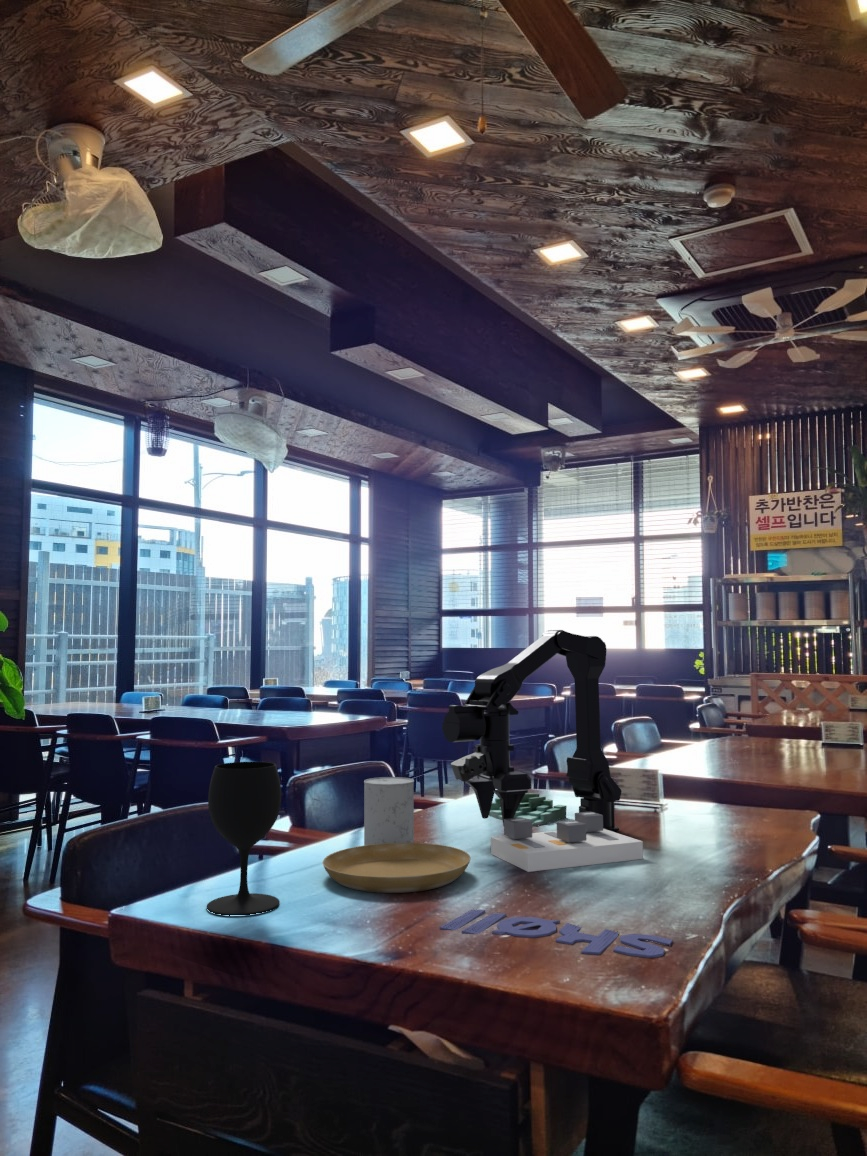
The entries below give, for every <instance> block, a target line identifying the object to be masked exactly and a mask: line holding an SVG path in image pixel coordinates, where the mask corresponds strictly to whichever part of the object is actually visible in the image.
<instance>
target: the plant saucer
mask: <svg viewBox="0 0 867 1156" xmlns="http://www.w3.org/2000/svg"><path fill="white" fill-rule="evenodd" d="M471 858H472V857H471V855H470V854H469V853H468V852H466V851H465V850H463V849H460V848H457V847H453V846H448V845H444V844H443V845H442V844H436V843H426V842H425V843H424V842H414V843H384V844H373V845H365V846H364V845H359V846H353V847H349V848H344V849H341V850H338V851H336V852H333V853H331V854H328V855H327V856H326V857H324V859H323V860H322V865H323V869H325V871H326V873H327V874H328V875H329V877H330V878H332V879H333V880H334V881H335V882H336V883H338V884H339V885H341V886H344V887H345V888H348V889H352V890H356V891H360V892H369V893H378V894H379V893H383V894H384V893H385V894H398V893H399V894H401V893H415V892H417V893H418V892H423V891H429V890H433V889H438V888H441V887H444V886H447V885H449V884H451V883H453V882H454V881H455V880H457V879H458V878H460V876H461V875H462V874H463V873H464V872H465V871H466V870H467V868H468V866H469V864H470V861H471Z"/></svg>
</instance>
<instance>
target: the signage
mask: <svg viewBox="0 0 867 1156" xmlns="http://www.w3.org/2000/svg"><path fill="white" fill-rule="evenodd" d="M485 913H486V909H477V908H475V909H471V910H469V911H467V912H465V913H463V914H462V915H460V916H458V917H455V918H454V919H452V920H450V921H447V922H446V923H445V924H443V925H441V926H439V930H443V931H444V930H445V931H456V930H458V929H461V928H462V927H463V926H465V925H466V924H469V923H470V922H472V921H473V920H475V919H476V918H478V917H480V916H482V915H483V914H485ZM504 917H507V913H506V912H504V913H503V912H502V913H501V912H499V913H498V911H497V912H496V913H495V912H492V913H490V914H489V915H487V916H485V917H484V918H482V919H480V920H478V921H477V922H475V923H473V924H471V925H469V926H468V927H466V928H464V929H462V930H461V933H462V934H469V935H471V934H473V935H479V934H480V933H483V932H484V931H485V930H486V929H488V928H490V927H492V926H493V925H494V924H496V927H497V929H495V930H492V931H491V933H492V934H494V935H500V936H502V935H509V936H512V937H518V938H519V937H520V938H532V939H533V938H540V937H546V936H550V935H552V934H555V933H557V924H560V923H561V920H556V919H552V918H551V919H546V918H545V919H544V918H540V917H535V916H513V917H509V918H508V917H507V918H505V919H504ZM519 924H520V925H519ZM581 929H582V927H581V926H579V925H576V924H572V923H570V922H569V923H568V922H567V923H565V924H564V925H563V926H562V927H561V928H560V929H559V930H558V934H559V935H560V936H559V937H557V938H556V939H555V942H556V943H559V944H564V945H565V944H566V945H571V946H572V945H574V944H575V943H580V942H585V943H588V944H587V945H586V946H585V947H584V948H583V949H582V950H581V954H583V955H584V954H585V955H596V956H597V955H598V956H600V955H601V953H603V952H604V951H605V950H606V949H607V948H608V947H609V946H610V945H611V944H612V943H613V942H614V941H615V940H616V939H617V938H618V937H619V942H620V943H621V944H624V945H626V946H622V945H617V946H615V947H614V948H613V952H614V953H617V954H621V955H625V956H631V957H639V958H647V959H649V958H650V959H652V958H653V959H654V958H660V957H663V956H664V955H665V954H664V953H666V952H665V951H666V950H665V948H662V947H661V946H659V945H661V944H665V945H664V946H666V945H669V946H668V947H670V946H671V945H672V944H673V943H674V939H671V938H666V937H662V936H657V935H652V934H642V933H628V934H625V935H624V934H623V935H619V936H618V933H619V932H618V930H617V931H615V930H611V929H609V928H608V929H607V928H605V929H604V930H602V931H601V932H600V933H599V934H598V935H594V934H590V933H589V934H588V933H584V932H583V933H582V932H580V930H581ZM617 936H618V937H617ZM640 940H648V941H640ZM649 941H653V942H657V943H660V944H659V945H656V944H657V943H656V944H654V943H653V942H652V943H651V942H649ZM672 942H673V943H672ZM671 943H672V944H671ZM670 944H671V945H670ZM627 946H629V947H627ZM641 949H642V950H641Z"/></svg>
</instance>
